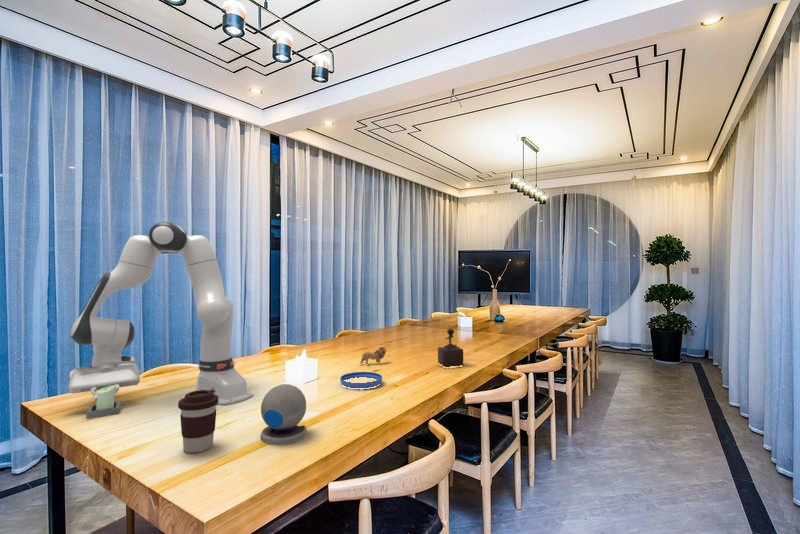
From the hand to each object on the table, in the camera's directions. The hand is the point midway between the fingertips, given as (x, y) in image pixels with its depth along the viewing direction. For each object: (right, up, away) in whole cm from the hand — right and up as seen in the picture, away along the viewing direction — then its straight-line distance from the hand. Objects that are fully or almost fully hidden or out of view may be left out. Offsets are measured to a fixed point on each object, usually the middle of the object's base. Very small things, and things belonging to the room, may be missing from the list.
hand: (104, 398), depth 137 cm
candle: (0, -5, +1) cm, 5 cm away
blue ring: (+85, -6, +35) cm, 92 cm away
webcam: (+67, -5, -19) cm, 70 cm away
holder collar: (0, -5, 0) cm, 5 cm away
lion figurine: (+88, -6, +72) cm, 114 cm away
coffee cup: (+46, -5, -27) cm, 54 cm away
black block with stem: (+128, -6, +71) cm, 146 cm away
